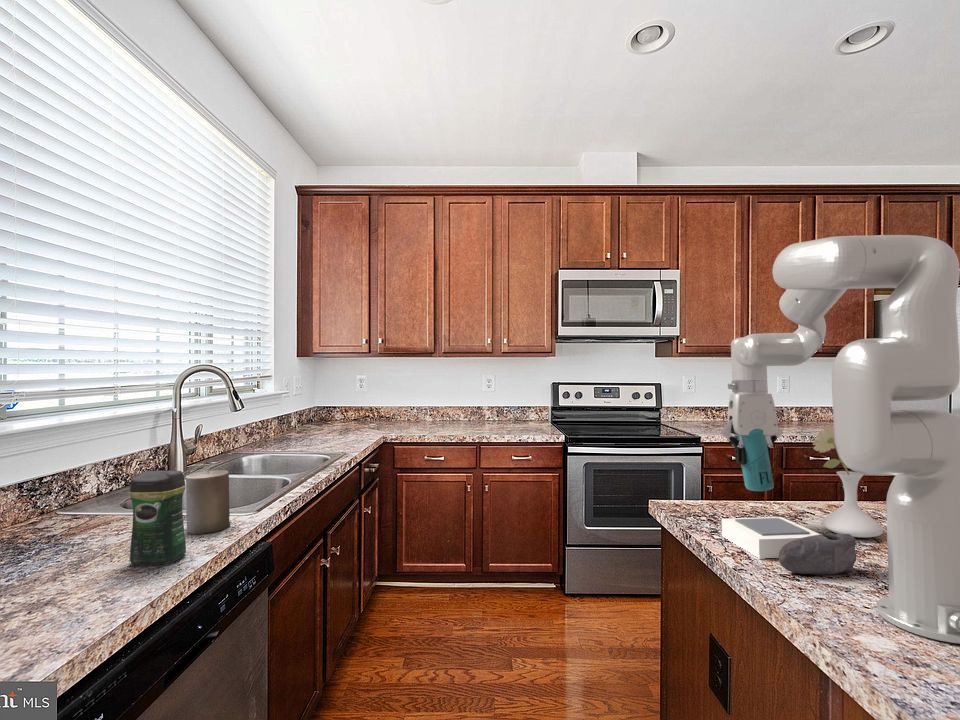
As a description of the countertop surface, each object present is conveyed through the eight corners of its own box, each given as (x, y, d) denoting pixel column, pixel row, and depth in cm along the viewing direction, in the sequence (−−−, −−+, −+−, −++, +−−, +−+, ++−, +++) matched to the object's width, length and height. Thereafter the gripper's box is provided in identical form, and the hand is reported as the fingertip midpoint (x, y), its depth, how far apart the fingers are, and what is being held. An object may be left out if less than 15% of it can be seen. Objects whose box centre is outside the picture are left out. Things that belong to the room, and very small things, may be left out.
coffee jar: (192, 552, 109) (192, 466, 109) (169, 567, 101) (169, 474, 101) (148, 553, 109) (148, 467, 109) (121, 567, 101) (121, 475, 101)
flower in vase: (861, 526, 119) (858, 421, 120) (896, 542, 108) (892, 427, 108) (804, 525, 120) (801, 422, 121) (832, 541, 109) (829, 427, 110)
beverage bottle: (762, 499, 116) (748, 415, 116) (739, 493, 122) (725, 413, 122) (782, 492, 118) (768, 409, 118) (758, 486, 125) (744, 408, 124)
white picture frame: (826, 557, 100) (826, 535, 101) (759, 559, 100) (758, 537, 100) (781, 534, 114) (781, 515, 115) (722, 536, 114) (721, 516, 114)
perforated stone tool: (787, 579, 90) (786, 541, 91) (770, 568, 96) (769, 531, 96) (869, 577, 91) (868, 539, 91) (847, 566, 96) (846, 530, 96)
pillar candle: (238, 523, 129) (237, 465, 130) (209, 535, 120) (208, 472, 120) (207, 522, 132) (206, 464, 132) (176, 533, 122) (175, 472, 123)
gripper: (723, 388, 117) (726, 467, 116) (794, 387, 118) (797, 465, 117) (707, 388, 124) (710, 462, 123) (774, 387, 125) (777, 460, 124)
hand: (752, 462), depth 120 cm, fingers closed on beverage bottle, 5 cm apart
